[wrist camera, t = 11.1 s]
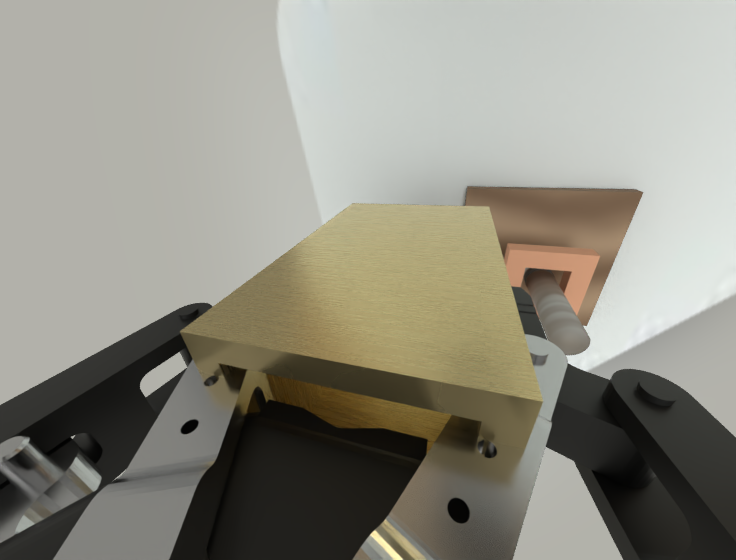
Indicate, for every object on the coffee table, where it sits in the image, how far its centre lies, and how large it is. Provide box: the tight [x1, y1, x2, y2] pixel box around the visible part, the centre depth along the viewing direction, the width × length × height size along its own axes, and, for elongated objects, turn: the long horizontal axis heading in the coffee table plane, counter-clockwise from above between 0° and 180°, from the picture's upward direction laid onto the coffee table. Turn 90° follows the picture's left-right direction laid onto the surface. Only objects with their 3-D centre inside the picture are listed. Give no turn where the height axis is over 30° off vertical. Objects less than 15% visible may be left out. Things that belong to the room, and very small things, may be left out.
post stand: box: [465, 187, 643, 355], centre depth 24 cm, size 14×14×14 cm
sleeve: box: [180, 203, 543, 456], centre depth 9 cm, size 6×6×9 cm
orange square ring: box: [504, 243, 600, 317], centre depth 25 cm, size 6×6×2 cm
